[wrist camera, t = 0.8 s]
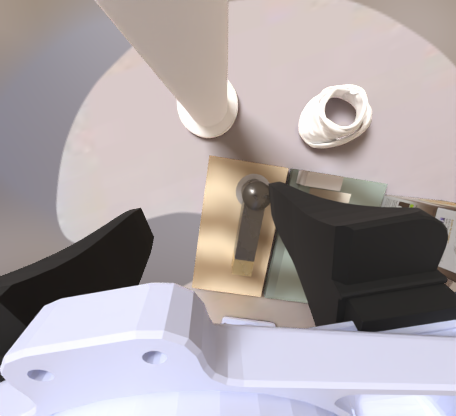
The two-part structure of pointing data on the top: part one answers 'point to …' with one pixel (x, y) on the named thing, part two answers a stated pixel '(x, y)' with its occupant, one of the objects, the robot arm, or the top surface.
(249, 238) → the bar
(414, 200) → the coffee box
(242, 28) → the top surface
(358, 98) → the white curved piece
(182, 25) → the candle
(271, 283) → the door and jamb
